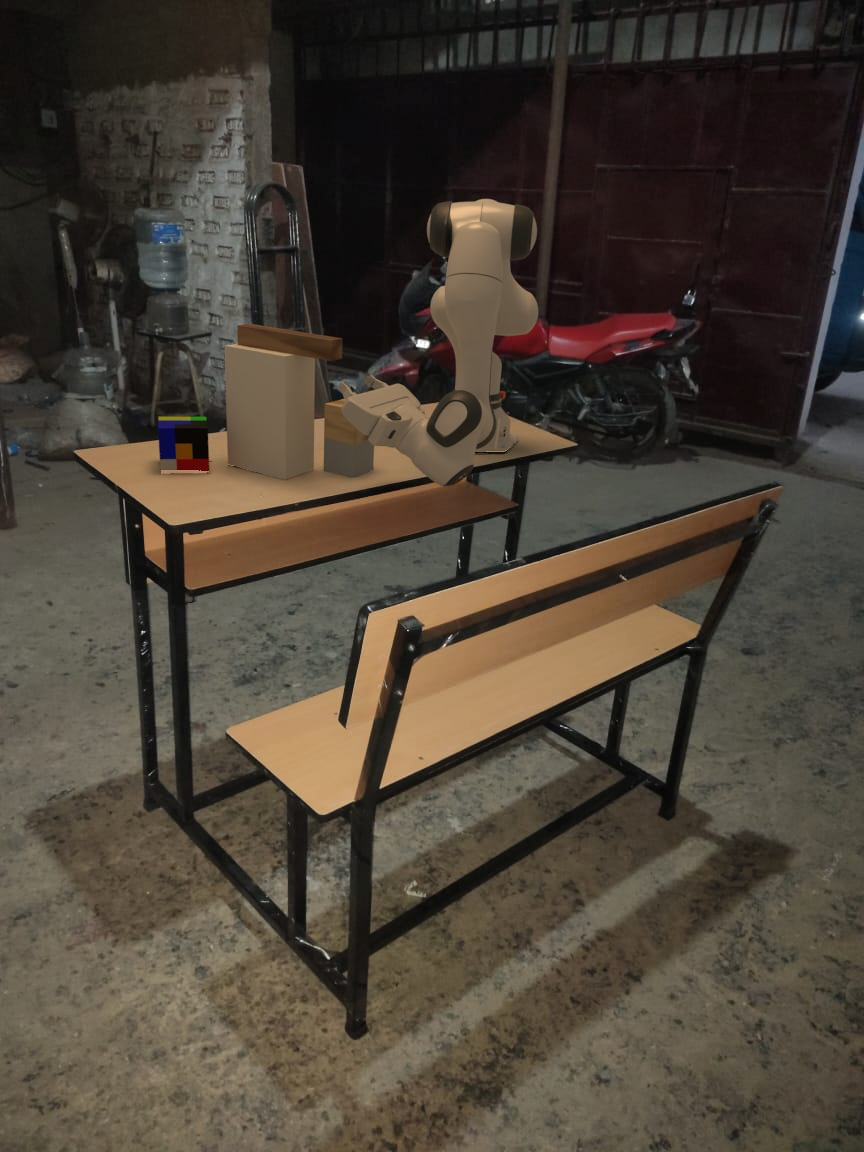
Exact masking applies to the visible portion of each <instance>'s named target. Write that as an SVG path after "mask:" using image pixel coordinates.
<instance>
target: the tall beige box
mask: <svg viewBox="0 0 864 1152" xmlns="http://www.w3.org/2000/svg"><path fill="white" fill-rule="evenodd" d="M315 373H316V358H311V357H305V356H299V355H293V354H288V353H282V352H276V351H270V350H265V349H259V348H253V347H247V346H242V345H238V343H234V344H226V345H224V374H225V377H224V378H225V402H226V404H225V405H226V406H225V407H226V408H225V409H226V437H227V438H226V439H227V441H226V442H227V445H226V446H227V465H228V464H230V465H234V466H237V467H241V468H244V469H248V470H252V471H255V472H254V473H256V472H258V473H257V474H260V473H261V475H264V476H267V477H268V476H269V477H272V478H277V479H279V480H280V479H281V480H285V481H286V480H289V479H291V478H294V477H298V476H300V475H303V474H306V473H308V472H311V471H314V470H315V468H314V466H315V394H316V393H315V386H316V385H315V380H316V379H315V375H316V374H315ZM244 469H243V470H244ZM248 470H247V471H248ZM252 471H251V472H252Z"/></svg>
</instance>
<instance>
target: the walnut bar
mask: <svg viewBox="0 0 864 1152" xmlns="http://www.w3.org/2000/svg"><path fill="white" fill-rule="evenodd" d="M236 329H237V331H236V332H237V344H238V345H242V346H247V347H253V348H259V349H265V350H270V351H276V352H282V353H288V354H293V355H299V356H305V357H311V358H315V360H316V359H317V360H323V361H327V362H328V361H329V362H332V361H336V360H342V359H343V338H342V337H335V336H328V335H323V334H316V333H311V332H304V331H297V330H292V329H284V328H278V327H273V326H272V327H271V326H266V325H259V324H253V323H246V324H238V325H237V328H236Z"/></svg>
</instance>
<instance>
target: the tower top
mask: <svg viewBox="0 0 864 1152" xmlns="http://www.w3.org/2000/svg"><path fill="white" fill-rule="evenodd" d="M344 402H345V399H344V398H342V399H339V400H334V401H330V402H327V403H324V417H323V418H324V421H323V423H324V425H323V426H324V428H323V429H324V430H323V439H324V438H327V439H332V440H336V441H341V442H345V443H350V444H357V443H360V442H363V441H366V440H368V438H369V436H367V435H364V434H363V433H361V432H360V431H359V430H357V429H356V428H355V427H354V426H353V425H352V424H351V423H350V422H349V421H348V420H347V419H346V418H345V417H344V416H343V414H342V411H341V408H342V406H343V404H344Z"/></svg>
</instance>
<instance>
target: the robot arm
mask: <svg viewBox="0 0 864 1152" xmlns="http://www.w3.org/2000/svg"><path fill="white" fill-rule="evenodd" d="M537 227H538V226H537V222H536V218H535V214H534V211H532V210H531V208H529V207H528V206H525V205H522V204H517V203H516V204H515V205H513V204H509V203H503V202H498V201H497V200H494V199H490V198H481V199H478V200H475V201H457V202H453V201H452V200H449V201H444V202H438V203H437V204H436V205H435V206H434V207H433V208H432V209H431V212H430V215H429V218H428V221H427V225H426V234H427V235H426V236H427V240H428V243H429V248H430V249H431V251H433V252H434V253H435V255H438V256H441V257H443V258H447V259H448V261H447V267H446V273H445V282H444V283H445V284H444V285H441V286H440V287H438V288H437V290H436V291H435V292H434V293H433V294H432V295H433V296H432V298H431V300H430V310H429V311H430V314H431V318H432V320H433V322H434V323H435V325H436V326H437V327H438V328H439V329H440V330H441V331H442V332H443V333H444V334H445V336H446V337H447V338H448V339H449V342H450V344H451V346H452V348H453V353H454V358H455V386H454V388H453V390H452V391H450V392H448V393H447V394H445V395H444V396H443V397H442V398H441V399H440V400H439V401H438V403H437V405H436V406H435V408H434V410H433V411H432V413H431V415H430V417H428V416H427V415H426V413H425V409H423V408H422V407H421V405H422V404H421V402H420V401H419V400H418V398H417V397H416V396H415V395H414V394H413V393H412V392H411V391H410V390H409V389H408V388H407V387H406V386H405V385H403V384H400V383H395V384H391V385H388V384H387V383H386V382H383V381H381V380H379V379H377V378H376V377H375V376H374V375H372V374H370V375H366V377H365V378H364V380H363V382H364V384H365V385H367V387H368V388H372V389H373V390H368V391H365V392H362V393H358V394H357V393H356V392H355V391H353V390H352V389H351V387H352V386H351V385H350V384H349V383H348V382H347V381H341V382H339V384H338V385H337V387H336V389H337V391H339V392H340V394H342V396H343V399H345V402H344V404H343V406H342V408H341V411H342V414H343V416H344V417H345V418H346V419H347V420H348V421H349V422H350V423H351V424H352V425H353V426H354V427H355V428H356V429H357V430H359V431H360V432H361V433H363V434H364V435H367V436H369V438H368V441H369V442H370V443H371V444H372V445H374V447H375V446H376V447H387V448H392V449H394V448H395V449H396V451H398V452H399V454H402V455H404V456H406V457H407V458H408V459H409V460H410V461H411V462H412V464H413V465H414V466H415V468H417V469H418V470H419V471H420V472H421V473H422V474H423V475H424V476H426V477H427V478H429V479H430V480H431V481H433V482H434V483H435V484H437V485H439V486H442V487H452V486H454V485H455V486H456V485H457V484H459V483H460V482H462V481H463V480H464V479H465V478H466V477H468V476H469V474H470V473H471V472H472V471H473V468H474V467H475V462H474V460H475V454H476V453H475V452H486V451H505V450H507V449H508V448H509V447H511V446H512V445H513V444H514V443H515V442H516V441H517V440H518V441H519V437H518V436H516V435H513V434H511V433H510V432H511V418H510V417H509V415H507V413H506V412H505V410H504V409H503V408H502V400H505V398H506V391H502V390H500V389H501V376H502V365H503V364H502V360H501V359H500V357H499V356H498V355H497V354H496V353H495V352H494V350H493V347H494V339H495V336H503V337H513V336H522V335H527V334H529V333H530V332H531V331H532V330H533V328H534V327H535V325H536V323H537V321H538V317H539V306H538V302H537V299H536V297H534V295H533V294H532V293H531V292H530V291H527V290H526V289H525V288H523V286H521V285H520V284H519V283H518V282H517V281H516V279H515V278H514V276H513V274H512V272H511V262H513V261H519V260H524V259H526V257H528V256H529V255H530V254H531V252H532V249H533V248H534V247H535V246H534V245H535V243H536V240H537V237H538V236H537V235H538V228H537ZM518 441H517V442H518ZM517 442H516V443H517ZM516 443H515V444H516ZM515 444H514V445H515ZM514 445H513V446H514ZM513 446H512V447H513ZM512 447H511V448H512Z"/></svg>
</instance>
